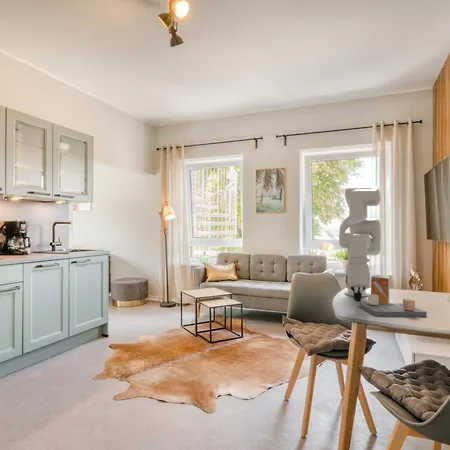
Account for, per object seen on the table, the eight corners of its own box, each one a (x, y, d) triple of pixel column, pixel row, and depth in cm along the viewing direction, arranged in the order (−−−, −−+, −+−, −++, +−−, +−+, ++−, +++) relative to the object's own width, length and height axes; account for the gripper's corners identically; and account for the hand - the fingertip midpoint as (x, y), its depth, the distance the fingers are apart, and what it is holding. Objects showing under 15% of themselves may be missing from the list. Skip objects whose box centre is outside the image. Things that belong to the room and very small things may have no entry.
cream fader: (367, 302, 164) (368, 294, 164) (374, 302, 164) (374, 294, 164) (371, 304, 160) (371, 295, 160) (378, 304, 160) (378, 295, 160)
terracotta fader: (402, 307, 154) (403, 298, 154) (409, 308, 154) (409, 298, 154) (408, 310, 150) (408, 300, 150) (414, 310, 150) (415, 300, 150)
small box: (370, 303, 175) (370, 276, 175) (372, 300, 180) (372, 275, 180) (388, 305, 171) (388, 278, 171) (389, 302, 176) (390, 276, 176)
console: (359, 307, 164) (359, 303, 164) (405, 307, 165) (405, 303, 165) (375, 316, 148) (375, 311, 148) (426, 316, 149) (426, 311, 149)
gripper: (370, 260, 166) (369, 299, 165) (338, 260, 165) (338, 299, 165) (377, 262, 158) (377, 303, 158) (344, 261, 157) (344, 302, 157)
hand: (357, 301), depth 161 cm, fingers closed
